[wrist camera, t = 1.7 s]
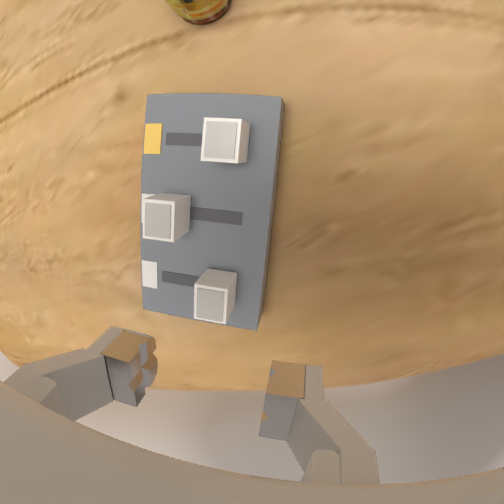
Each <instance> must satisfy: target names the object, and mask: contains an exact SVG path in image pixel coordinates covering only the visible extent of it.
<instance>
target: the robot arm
mask: <svg viewBox="0 0 504 504" xmlns="http://www.w3.org/2000/svg"><path fill="white" fill-rule="evenodd" d="M155 349H156V341H155V339H154V337H152V336H149V335H145V334H141V333H138V332H134V331H131V330H126V329H123V328H120V327H116V326H111V327H110V328H109V329H108V330H106V331H105V332H104V333H103V334H102V335H101V336H100V337H99V338H98V339H97V340H96V341H95V342H94V343H93V344H92V345H91V346H90V347H89V348H88V349H87V350H86V349H83V348H82V349H79V350H75V351H72V352H68V353H64V354H61V355H57V356H54V357H50V358H46V359H43V360H39V361H35V362H31V363H27V364H24V365H23V366H21V367H20V368H19V369H18V370H17V371H16V372H15V373H14V374H12V375H11V376H10V377H9V378H8V379H7V380H5V382H1V381H0V504H504V467H502V468H498V469H494V470H489V471H485V472H480V473H475V474H470V475H464V476H458V477H453V478H445V479H439V480H430V481H421V482H410V483H396V484H380V481H379V473H378V465H377V458H376V451H375V450H374V449H373V448H372V447H371V446H370V445H369V444H368V443H367V442H366V441H365V440H364V439H363V438H362V437H361V436H360V435H359V433H358V432H357V431H356V430H355V429H354V428H353V427H352V426H351V425H350V424H349V423H348V422H347V421H346V420H345V419H344V418H343V417H342V415H341V414H340V413H339V412H338V411H337V410H336V409H335V408H334V407H333V406H332V405H331V404H330V403H329V402H326V401H324V393H323V367H322V366H321V365H309V364H305V365H304V364H296V363H288V362H281V361H274V360H272V364H271V370H270V375H269V380H268V385H267V391H266V396H265V402H264V408H263V414H262V420H261V425H260V431H259V436H261V437H266V438H272V439H278V440H285V441H287V443H288V445H289V447H290V448H291V450H292V452H293V454H294V455H295V457H296V459H297V461H298V462H299V464H300V466H301V467H302V469H303V471H304V475H303V477H302V480H301V482H298V481H288V480H280V479H272V478H265V477H258V476H252V475H245V474H240V473H235V472H229V471H225V470H220V469H215V468H211V467H207V466H202V465H198V464H194V463H190V462H186V461H183V460H179V459H175V458H172V457H169V456H165V455H162V454H159V453H155V452H152V451H149V450H146V449H143V448H140V447H137V446H134V445H131V444H129V443H126V442H123V441H120V440H118V439H115V438H113V437H110V436H108V435H105V434H103V433H100V432H98V431H96V430H93V429H91V428H89V427H86V426H84V425H82V424H80V423H77V422H75V420H77V419H79V418H81V417H83V416H85V415H87V414H89V413H91V412H93V411H95V410H97V409H99V408H101V407H103V406H105V405H107V404H108V403H110V402H112V401H113V400H116V401H119V402H122V403H125V404H129V405H132V406H135V407H137V406H138V404H139V403H140V401H141V400H142V398H143V397H144V395H145V388H146V387H148V386H151V384H152V383H153V381H154V379H155V376H156V373H157V366H158V364H157V358H156V357H155V355H154V354H153V352H154V350H155Z"/></svg>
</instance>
